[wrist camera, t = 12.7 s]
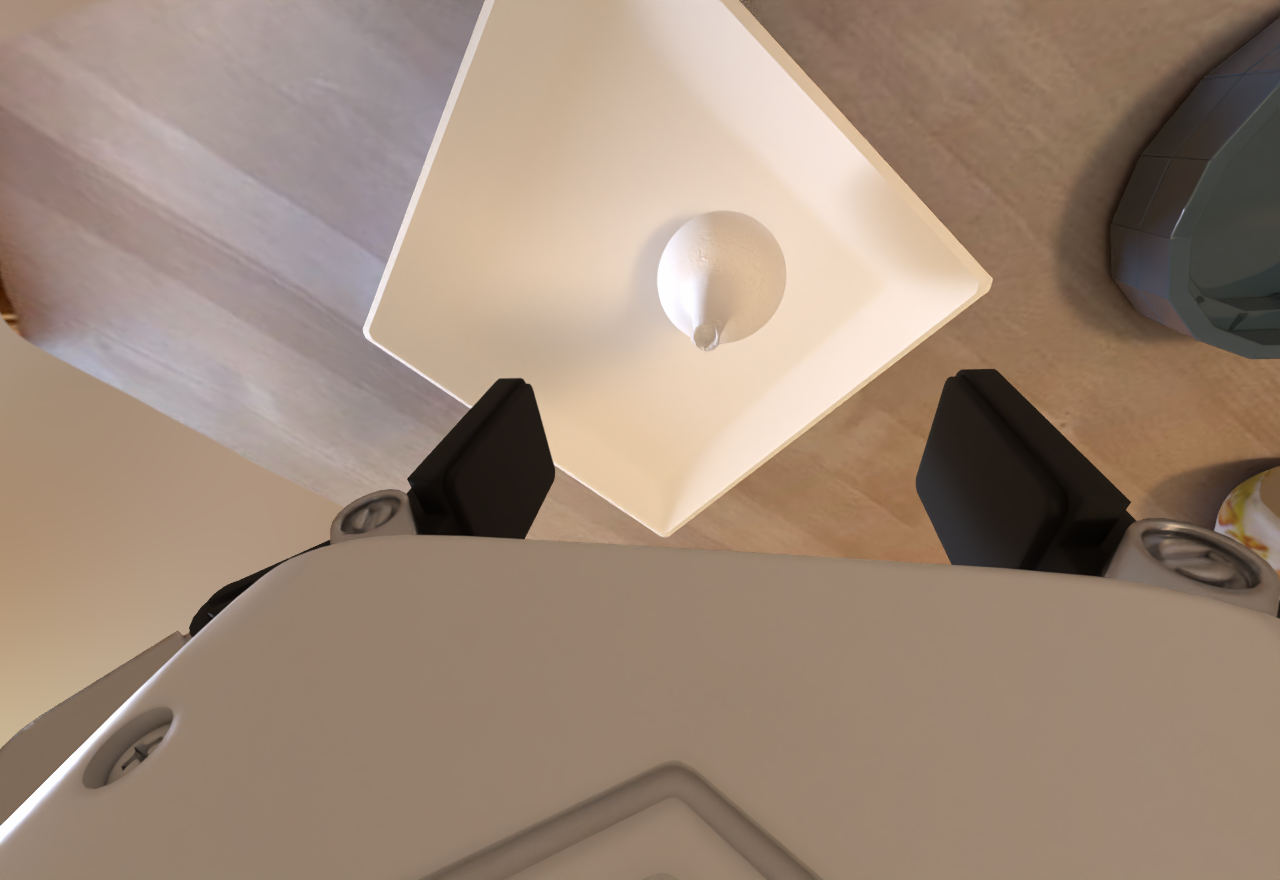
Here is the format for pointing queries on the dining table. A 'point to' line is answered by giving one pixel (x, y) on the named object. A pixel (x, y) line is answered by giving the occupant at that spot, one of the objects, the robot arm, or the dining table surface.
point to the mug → (1255, 516)
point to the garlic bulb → (721, 278)
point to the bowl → (1211, 210)
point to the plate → (654, 244)
